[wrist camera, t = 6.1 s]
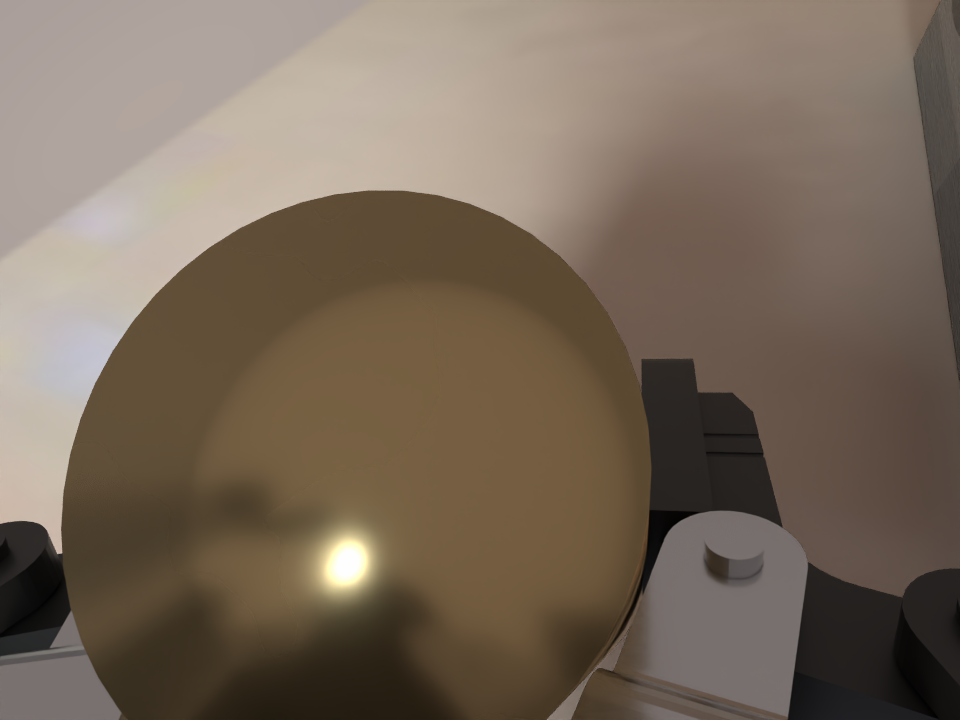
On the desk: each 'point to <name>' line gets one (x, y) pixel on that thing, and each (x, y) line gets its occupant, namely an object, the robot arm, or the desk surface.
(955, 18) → the grey roller frame base
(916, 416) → the desk surface
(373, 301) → the bronze pin
